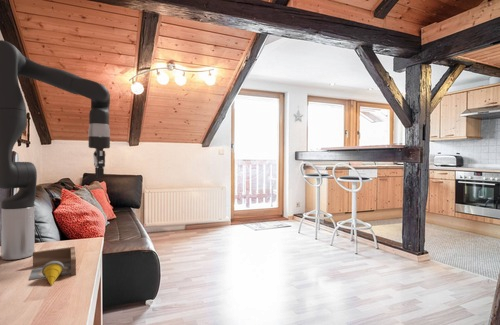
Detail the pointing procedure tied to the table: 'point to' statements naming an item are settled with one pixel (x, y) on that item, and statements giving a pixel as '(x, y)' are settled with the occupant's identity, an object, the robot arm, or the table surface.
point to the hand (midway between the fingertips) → (99, 177)
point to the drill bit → (52, 270)
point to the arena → (60, 255)
